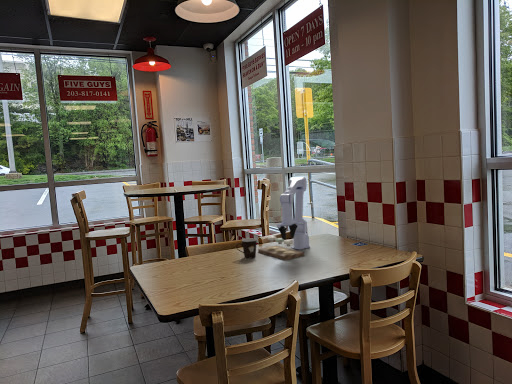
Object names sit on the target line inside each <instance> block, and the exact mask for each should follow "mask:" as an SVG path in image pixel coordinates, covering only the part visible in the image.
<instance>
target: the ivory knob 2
mask: <svg viewBox="0 0 512 384" xmlns="http://www.w3.org/2000/svg"><path fill="white" fill-rule="evenodd" d="M283 244H284V245H286V247H291V245H294V242H293V240H292V239H285V240H284V242H283Z"/></svg>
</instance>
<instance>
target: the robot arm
mask: <svg viewBox="0 0 512 384" xmlns="http://www.w3.org/2000/svg"><path fill="white" fill-rule="evenodd" d="M288 179H289V180H288V185H289V186H288V187H287V188H286V189H285V190H284V192H283V193H281V194H280V196H279V203H280V208H281V219H282V222H280V223H276V228H277V229H278V231H279V232H280V236H281V238H282V239H284V241H285V240H287V229H289V235H290V238H292V239H293V245H292V246H290V249H293V250H297V251H300V250H304V249H308V248H311V246H310V236H309V234H308V222H307V220H306V219H305V218H303V216H304V215H303V213H304V193H305V192H306V191H307V186H308V185H307V184H308V183H307V178H306V177H305V176H302V177H300V176H299V177H290V178H288ZM294 196H295V207H294V209H295V210H294V217H293V202H294Z"/></svg>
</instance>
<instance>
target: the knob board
mask: <svg viewBox="0 0 512 384" xmlns="http://www.w3.org/2000/svg"><path fill="white" fill-rule="evenodd" d="M257 251H258V253H260V254H263V255H265V256H270V257H273V258H276V259H280V260H283V261H288V260H292V259H295V258H296V257H297V258H300V256H301V257H304V256H305V251H301V250H298V249H294V248H290V247H289V248H288V247H285V246H280V245H270V246H267V247H262V248H258V249H257Z"/></svg>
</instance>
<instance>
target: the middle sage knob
mask: <svg viewBox="0 0 512 384" xmlns="http://www.w3.org/2000/svg"><path fill="white" fill-rule="evenodd" d="M284 241H285V240H284V239H282V237H278V238H277V237H276V240H275V242H276V243H278V245H282V243H284Z"/></svg>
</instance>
